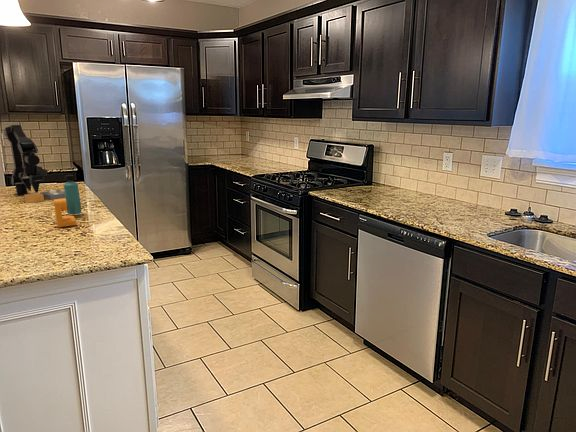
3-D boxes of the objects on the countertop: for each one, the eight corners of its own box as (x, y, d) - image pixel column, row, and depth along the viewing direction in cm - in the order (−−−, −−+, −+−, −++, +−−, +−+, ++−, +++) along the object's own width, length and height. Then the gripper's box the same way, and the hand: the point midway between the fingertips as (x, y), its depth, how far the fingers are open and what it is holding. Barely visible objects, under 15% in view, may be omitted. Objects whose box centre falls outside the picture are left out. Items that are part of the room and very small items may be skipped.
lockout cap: (25, 201, 238) (24, 194, 237) (38, 199, 243) (37, 192, 242) (30, 202, 233) (29, 196, 232) (44, 200, 239) (43, 194, 238)
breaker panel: (40, 196, 249) (39, 191, 249) (61, 193, 259) (60, 188, 258) (50, 199, 241) (50, 194, 240) (72, 196, 250) (71, 191, 249)
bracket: (76, 226, 188) (73, 200, 185) (58, 228, 184) (54, 201, 181) (74, 221, 197) (70, 195, 194) (56, 223, 193) (53, 197, 190)
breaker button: (48, 196, 248) (47, 190, 247) (54, 195, 251) (53, 189, 250) (50, 197, 246) (50, 191, 245) (56, 196, 248) (56, 190, 248)
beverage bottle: (85, 215, 208) (80, 174, 203) (73, 218, 202) (68, 176, 197) (76, 213, 210) (70, 173, 205) (64, 216, 204) (58, 175, 199)
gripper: (52, 163, 234) (55, 191, 237) (37, 160, 245) (41, 187, 249) (30, 165, 225) (34, 194, 229) (16, 162, 236) (20, 190, 240)
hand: (33, 191), depth 237 cm, fingers open, 9 cm apart
